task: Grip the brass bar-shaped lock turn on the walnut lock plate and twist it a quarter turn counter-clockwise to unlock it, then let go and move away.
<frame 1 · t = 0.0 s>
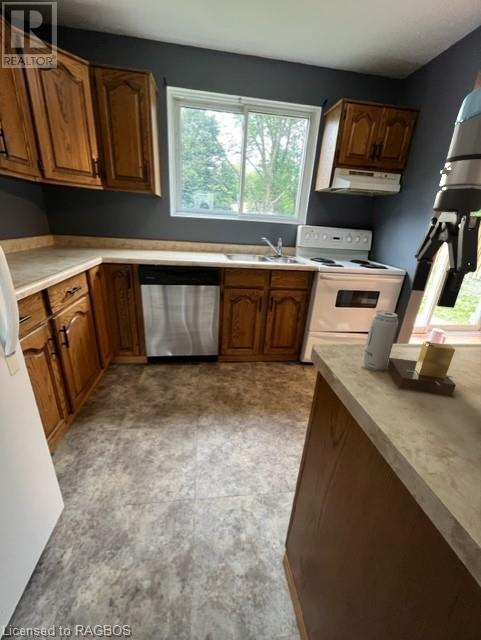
hand: (429, 297, 59), 21 cm above the countertop, tool pointing down, fingers open, 13 cm apart
energy drink can: (373, 367, 73), on the countertop
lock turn: (434, 359, 63), point 7 cm above the countertop, hinge at 0.0°
lock plate: (416, 380, 67), on the countertop
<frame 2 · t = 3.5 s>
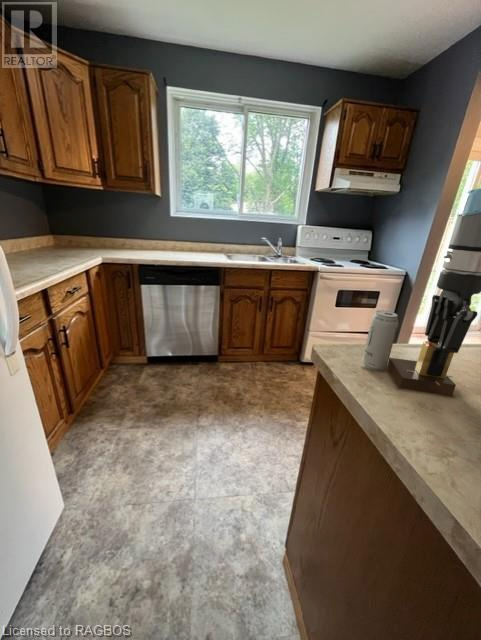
hand: (430, 371, 64), 4 cm above the countertop, tool pointing down, fingers closed on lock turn, 2 cm apart
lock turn: (434, 359, 63), point 7 cm above the countertop, hinge at -0.1°, touching gripper
everything else where it was.
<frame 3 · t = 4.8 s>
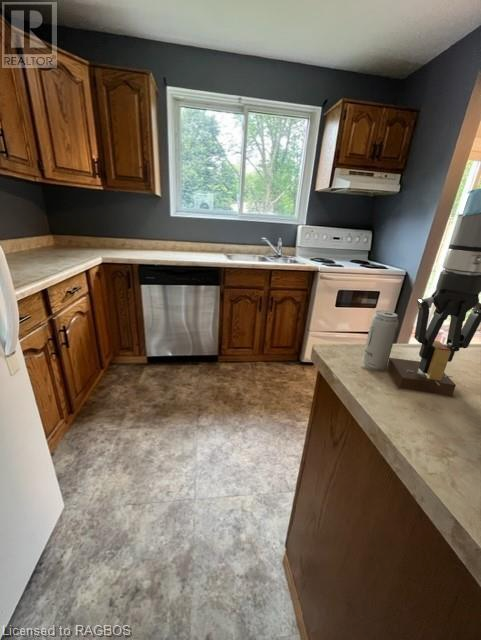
hand: (430, 371, 64), 4 cm above the countertop, tool pointing down, fingers closed on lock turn, 2 cm apart
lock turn: (434, 359, 63), point 7 cm above the countertop, hinge at 89.9°, touching gripper
everything else where it was.
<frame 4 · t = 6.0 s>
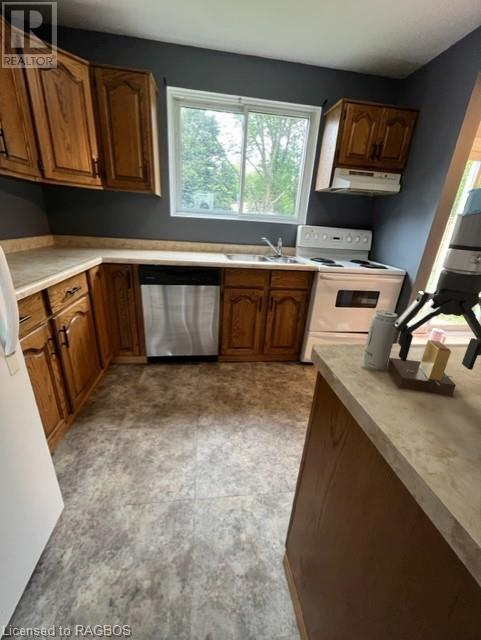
hand: (433, 362, 63), 6 cm above the countertop, tool pointing down, fingers open, 13 cm apart
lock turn: (434, 359, 63), point 7 cm above the countertop, hinge at 89.8°
everything else where it was.
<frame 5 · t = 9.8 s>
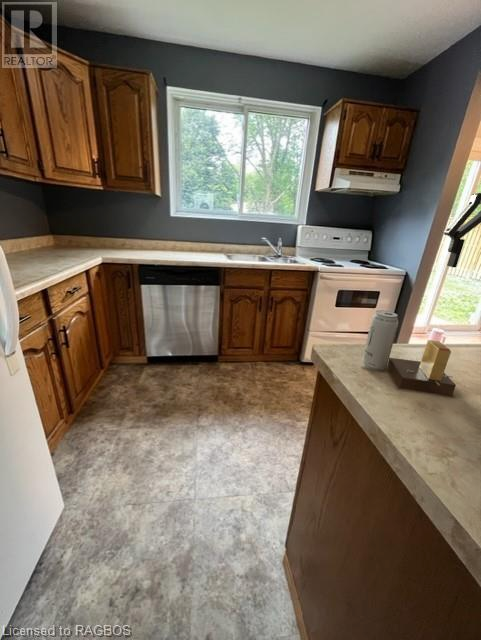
nothing on the countertop moved.
at the end: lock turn at +90° (first picture: +0°); the gripper is holding nothing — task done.
